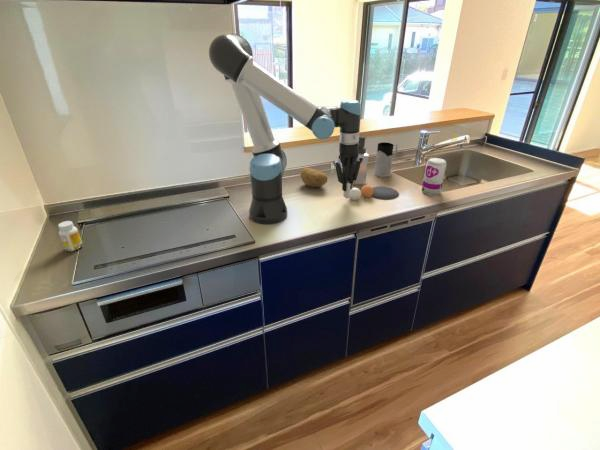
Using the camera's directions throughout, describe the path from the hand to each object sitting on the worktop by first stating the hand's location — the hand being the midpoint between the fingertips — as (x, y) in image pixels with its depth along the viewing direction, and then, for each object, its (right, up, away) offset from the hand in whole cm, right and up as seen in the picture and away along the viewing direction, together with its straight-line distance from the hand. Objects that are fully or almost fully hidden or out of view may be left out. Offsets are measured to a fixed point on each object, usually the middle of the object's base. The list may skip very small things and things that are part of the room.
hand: (346, 197), depth 146 cm
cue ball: (+4, +2, +2) cm, 5 cm away
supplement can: (+40, +3, +10) cm, 41 cm away
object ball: (+10, +3, +5) cm, 11 cm away
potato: (-13, +6, +17) cm, 22 cm away
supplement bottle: (-97, -20, -28) cm, 103 cm away
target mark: (+18, +3, +9) cm, 20 cm away
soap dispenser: (+8, +10, +22) cm, 25 cm away
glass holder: (+24, +15, +32) cm, 43 cm away
